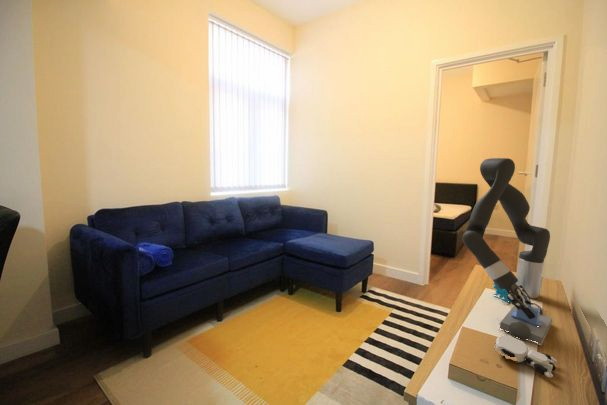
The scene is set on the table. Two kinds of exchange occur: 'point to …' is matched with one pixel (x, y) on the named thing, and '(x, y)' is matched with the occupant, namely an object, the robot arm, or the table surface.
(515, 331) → the chassis
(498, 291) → the gear
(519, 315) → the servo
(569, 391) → the table surface
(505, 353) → the robot toy
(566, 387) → the table surface
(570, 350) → the table surface
